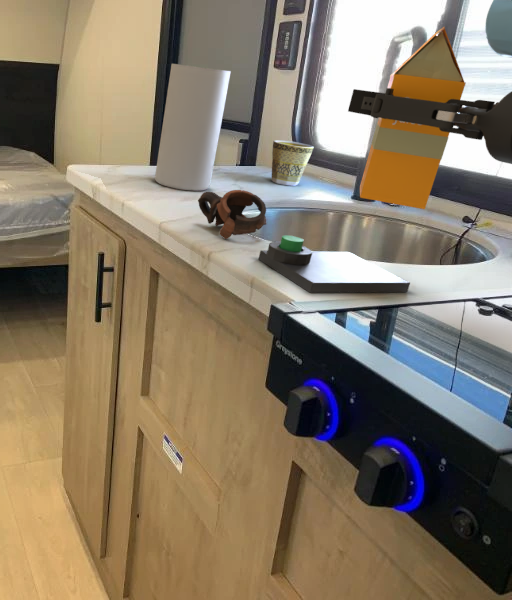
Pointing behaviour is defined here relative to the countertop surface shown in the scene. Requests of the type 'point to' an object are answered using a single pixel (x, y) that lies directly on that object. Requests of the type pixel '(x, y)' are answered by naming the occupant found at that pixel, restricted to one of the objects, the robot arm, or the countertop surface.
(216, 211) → the broken mug
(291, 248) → the button
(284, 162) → the ceramic cup
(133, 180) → the countertop surface
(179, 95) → the cylinder vase
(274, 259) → the scale
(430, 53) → the orange juice
